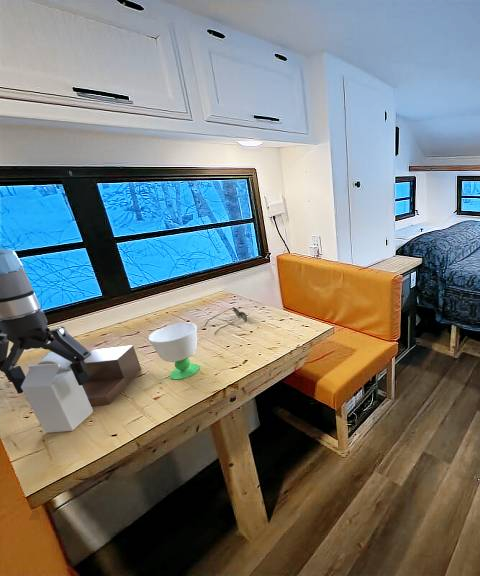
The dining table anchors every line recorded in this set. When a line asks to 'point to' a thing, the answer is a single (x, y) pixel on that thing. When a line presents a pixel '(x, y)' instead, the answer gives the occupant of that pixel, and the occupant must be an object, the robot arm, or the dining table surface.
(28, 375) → the milk carton
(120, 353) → the shelf stand
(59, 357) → the ceramic mug
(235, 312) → the sunglasses
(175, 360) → the cup
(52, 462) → the dining table surface
